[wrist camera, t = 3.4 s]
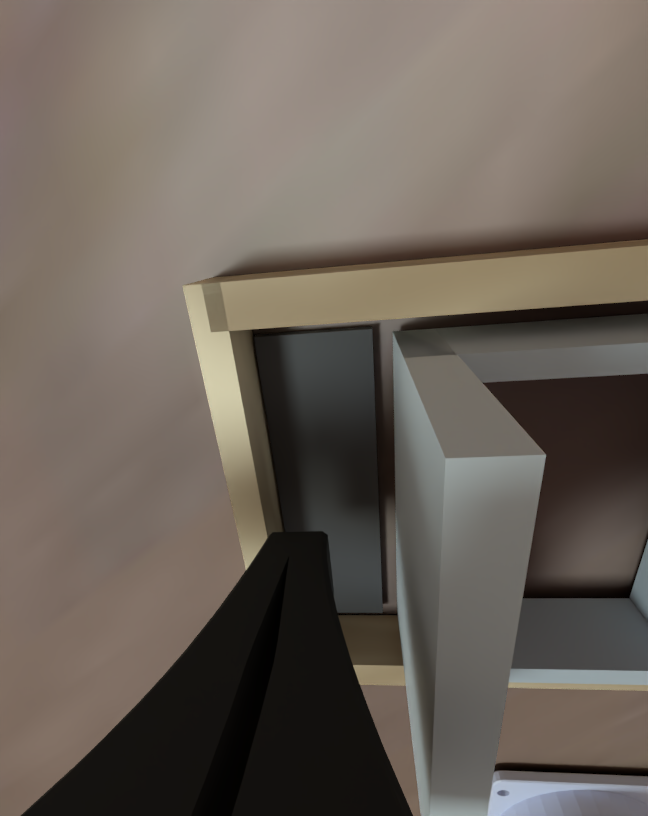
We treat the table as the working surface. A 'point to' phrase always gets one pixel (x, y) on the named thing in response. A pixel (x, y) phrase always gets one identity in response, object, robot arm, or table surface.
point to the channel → (356, 397)
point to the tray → (491, 544)
